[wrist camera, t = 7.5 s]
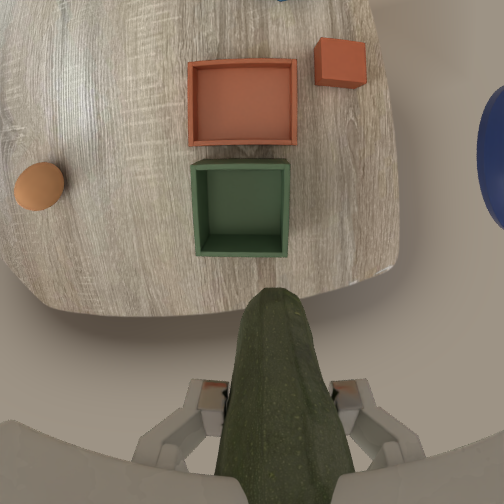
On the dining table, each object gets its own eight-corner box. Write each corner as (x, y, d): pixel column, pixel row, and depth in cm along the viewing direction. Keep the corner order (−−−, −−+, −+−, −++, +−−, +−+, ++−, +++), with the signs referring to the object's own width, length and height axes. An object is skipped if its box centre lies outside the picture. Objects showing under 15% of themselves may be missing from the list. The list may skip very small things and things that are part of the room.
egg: (79, 191, 38) (41, 208, 30) (51, 207, 39) (14, 226, 31) (65, 151, 36) (24, 159, 27) (37, 169, 37) (-2, 182, 28)
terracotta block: (353, 52, 30) (365, 42, 25) (354, 89, 32) (366, 83, 27) (313, 48, 30) (320, 37, 25) (314, 85, 32) (321, 78, 27)
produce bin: (286, 158, 36) (290, 164, 30) (284, 237, 39) (287, 257, 33) (202, 159, 36) (190, 164, 30) (206, 237, 40) (195, 256, 34)
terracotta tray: (294, 64, 31) (296, 59, 28) (294, 144, 35) (297, 145, 32) (193, 67, 32) (187, 62, 29) (194, 145, 35) (188, 146, 33)
